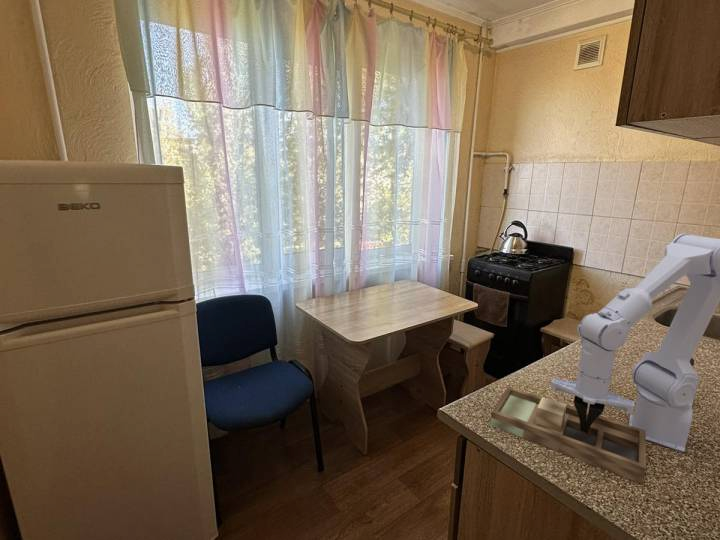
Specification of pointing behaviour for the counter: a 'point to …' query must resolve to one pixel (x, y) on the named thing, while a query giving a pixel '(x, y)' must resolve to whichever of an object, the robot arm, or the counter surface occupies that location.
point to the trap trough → (575, 435)
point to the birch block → (550, 414)
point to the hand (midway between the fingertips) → (584, 429)
